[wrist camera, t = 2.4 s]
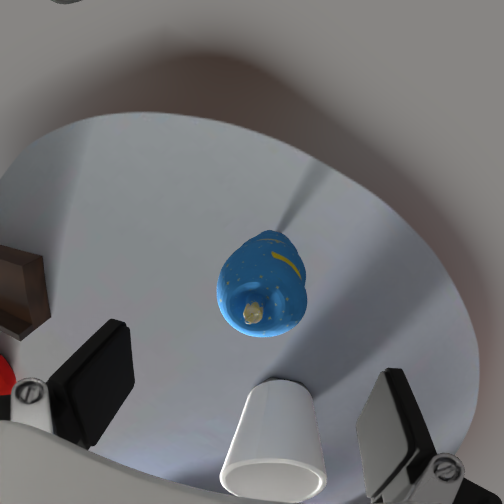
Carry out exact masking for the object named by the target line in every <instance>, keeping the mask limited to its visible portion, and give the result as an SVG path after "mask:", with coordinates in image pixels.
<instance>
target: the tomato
mask: <svg viewBox="0 0 504 504" xmlns="http://www.w3.org/2000/svg"><path fill="white" fill-rule="evenodd" d="M16 383H17V382H16V378H15V374H14V372H13V370H12V368H11V367H10V365H9V364H8V362H7V360H6V359H5V358H4V357H3V356H2V355H1V354H0V395H9V394H11V391H12V388H13V386H14V385H15V384H16Z"/></svg>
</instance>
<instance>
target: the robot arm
mask: <svg viewBox="0 0 504 504" xmlns="http://www.w3.org/2000/svg"><path fill="white" fill-rule="evenodd" d="M134 383H135V378H134V369H133V360H132V350H131V338H130V329H129V327H127V326H126V323H125V322H122V321H118V320H115V319H110V320H108V321H107V322H106V323H105V324H104V325H103V326H102V327H101V328H100V329H99V330H98V331H97V332H96V333H95V334H94V335H93V336H92V337H90V338H89V339H88V340H87V341H86V342H85V343H84V344H83V345H82V346H81V347H80V348H79V349H78V350H77V351H76V352H75V353H74V354H73V355H72V356H71V357H70V358H69V359H68V360H67V361H66V362H65V363H64V364H63V365H62V366H61V367H60V368H59V369H58V370H57V371H56V372H55V373H54V374H53V375H52V376H51V377H50V378H49V380H48V381H47V382H46V383H45V382H43V381H42V380H40V379H37V378H25V379H22V380H20V381H18V382H17V383H16V384H15V385H14V386H13V388H12V391H11V394H9V395H0V504H301V503H287V502H276V501H267V500H259V499H252V498H245V497H239V496H233V495H228V494H222V493H217V492H213V491H208V490H204V489H199V488H195V487H191V486H187V485H183V484H180V483H176V482H173V481H169V480H166V479H162V478H159V477H156V476H153V475H150V474H147V473H144V472H141V471H138V470H135V469H133V468H130V467H127V466H124V465H122V464H119V463H117V462H114V461H112V460H109V459H107V458H105V457H102V456H100V455H97V454H95V453H93V452H90V451H88V449H89V448H90V446H95V445H96V444H97V442H98V441H99V439H100V438H101V436H102V434H103V433H104V431H105V430H106V428H107V427H108V425H109V424H110V422H111V421H112V419H113V418H114V416H115V415H116V413H117V411H118V410H119V408H120V407H121V405H122V404H123V402H124V401H125V399H126V398H127V396H128V395H129V393H130V392H131V390H132V389H133V387H134ZM356 430H357V436H358V441H359V448H360V454H361V460H362V467H363V474H364V481H365V488H366V495H367V497H368V498H371V504H502V501H501V499H500V498H499V497H498V496H497V495H495V494H494V493H492V492H490V491H488V490H486V489H484V488H482V487H480V486H478V485H477V484H475V483H473V482H471V481H469V480H467V479H465V478H464V473H465V469H464V465H463V463H462V462H461V461H460V459H459V458H458V457H456V456H455V455H452V454H449V453H440V454H437V453H436V450H435V447H434V445H433V442H432V439H431V437H430V434H429V431H428V429H427V426H426V424H425V421H424V419H423V416H422V414H421V411H420V409H419V406H418V404H417V402H416V400H415V397H414V395H413V392H412V390H411V388H410V386H409V383H408V381H407V379H406V376H405V374H404V372H403V370H402V369H398V368H387V369H386V370H385V371H382V372H381V373H380V375H379V377H378V379H377V381H376V383H375V386H374V388H373V390H372V392H371V394H370V396H369V398H368V400H367V402H366V404H365V406H364V408H363V410H362V412H361V414H360V416H359V418H358V420H357V424H356Z"/></svg>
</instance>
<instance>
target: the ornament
mask: <svg viewBox="0 0 504 504" xmlns="http://www.w3.org/2000/svg"><path fill="white" fill-rule="evenodd" d="M305 280H306V271H305V267H304V264H303V262H302V260H301V258H300V256H299V255H298V252H297V250H296V248H295V246H294V245H293V244H292V243H291V242H290V240H289V239H288V238H287V237H286V236H285V235H283V234H282V233H279V232H275V231H272V230H267V231H264V232H262V233H261V234H259V235H257V236H256V237H254V238H252V239H250V240H248V241H247V242H245V243H244V244H243V245H242V246H241V247H240V248H239V249H237V250H236V251H235V252H234V253H233V254H232V255H231V256H230V257H229V258H228V260H227V261H226V262H225V264H224V266H223V267H222V270H221V272H220V275H219V278H218V283H217V300H218V304H219V307H220V310H221V312H222V314H223V316H224V318H225V319H226V320H227V322H228V323H229V324H230V325H231V326H232V327H234V328H235V329H236V330H238V331H240V332H242V333H244V334H247V335H250V336H254V337H272V336H276V335H279V334H282V333H285V332H287V331H289V330H290V329H292V328H293V327H295V326H296V325H297V324H298V323H299V322H300V320H301V319H302V317H303V316H304V314H305V311H306V307H307V294H306V290H305V287H304V286H305Z"/></svg>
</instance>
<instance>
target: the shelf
mask: <svg viewBox="0 0 504 504" xmlns="http://www.w3.org/2000/svg"><path fill="white" fill-rule="evenodd" d="M49 318H51V314H50V309H49V303H48V297H47V290H46V283H45V276H44V267H43V258H42V256H40V255H36V254H32V253H29V252H25V251H21V250H18V249H14V248H11V247H7V246H4V245H0V331H2V332H4V333H6V334H7V335H9V336H11V337H13V338H15V339H17V340H19V341H22V340H23V339H24V338H25V337H27V336H28V335H29V334H30V333H32V332H33V331H34V330H35V329H36V328H38V327H39V326H40V325H42V324H43V323H44V322H45V321H47V320H48V319H49Z"/></svg>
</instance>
